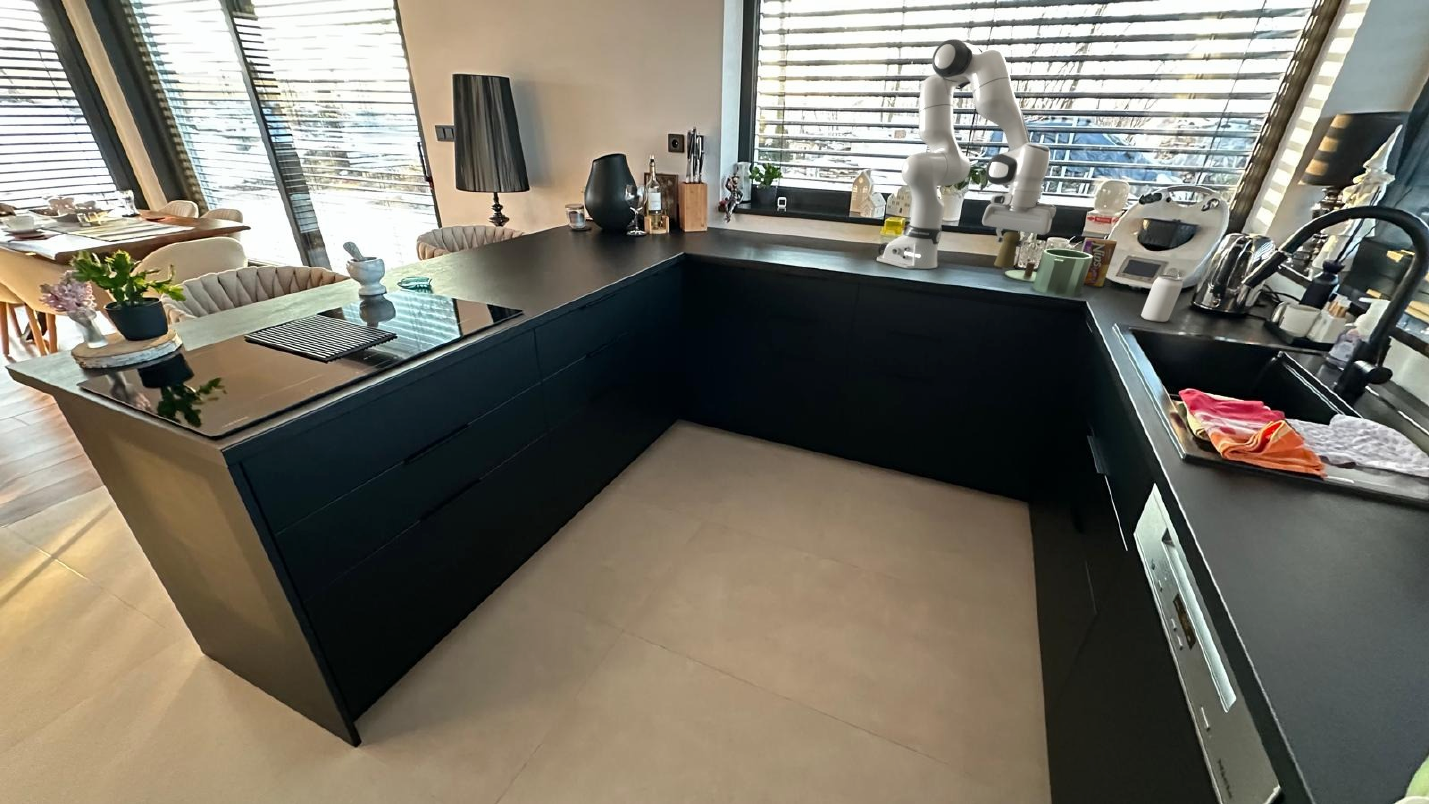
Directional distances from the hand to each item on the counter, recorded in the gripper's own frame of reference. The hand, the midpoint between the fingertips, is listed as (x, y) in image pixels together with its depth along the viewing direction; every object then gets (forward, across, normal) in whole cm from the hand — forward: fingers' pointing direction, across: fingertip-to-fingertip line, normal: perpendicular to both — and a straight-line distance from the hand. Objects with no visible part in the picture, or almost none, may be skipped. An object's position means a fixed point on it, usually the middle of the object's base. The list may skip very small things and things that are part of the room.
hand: (1009, 243), depth 183 cm
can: (+13, -45, +5) cm, 47 cm away
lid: (+13, -5, -15) cm, 20 cm away
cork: (+7, 0, 0) cm, 7 cm away
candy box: (+13, -22, -22) cm, 34 cm away
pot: (+13, -17, -4) cm, 22 cm away
